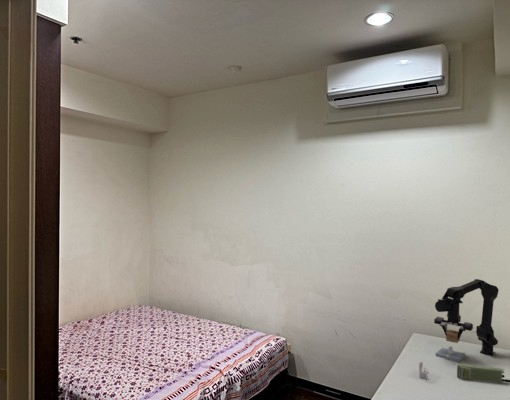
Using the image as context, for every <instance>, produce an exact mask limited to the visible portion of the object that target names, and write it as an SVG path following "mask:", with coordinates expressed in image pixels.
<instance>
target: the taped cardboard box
mask: <svg viewBox="0 0 510 400" xmlns="http://www.w3.org/2000/svg"><path fill="white" fill-rule="evenodd" d="M447 330H448V331H447V332H446V335H445V339H446V340H445V341H447V342H450V343H454V344H455V343H456V344H458V343H459V342H460V339H459V340H458V334H459V330H453V329H447Z"/></svg>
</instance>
